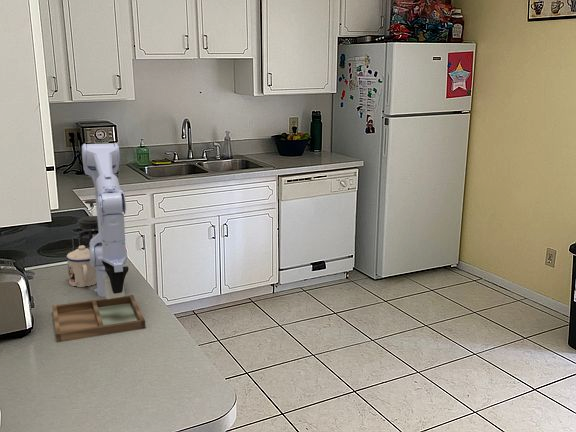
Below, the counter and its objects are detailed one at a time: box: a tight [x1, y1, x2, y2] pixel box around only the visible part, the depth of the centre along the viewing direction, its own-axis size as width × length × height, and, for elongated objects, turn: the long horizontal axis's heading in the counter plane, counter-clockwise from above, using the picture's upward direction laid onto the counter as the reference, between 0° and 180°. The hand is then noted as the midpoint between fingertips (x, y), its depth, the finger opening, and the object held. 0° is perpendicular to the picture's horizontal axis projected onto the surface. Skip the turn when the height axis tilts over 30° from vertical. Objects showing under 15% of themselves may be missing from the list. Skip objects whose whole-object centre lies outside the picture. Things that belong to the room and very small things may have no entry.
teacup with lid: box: [65, 244, 97, 288], centre depth 178 cm, size 12×9×12 cm
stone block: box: [103, 274, 126, 299], centre depth 153 cm, size 4×4×5 cm
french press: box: [71, 199, 100, 251], centre depth 189 cm, size 12×9×23 cm
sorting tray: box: [51, 294, 147, 343], centre depth 153 cm, size 18×21×3 cm
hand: (116, 289), depth 153 cm, fingers closed on stone block, 4 cm apart
